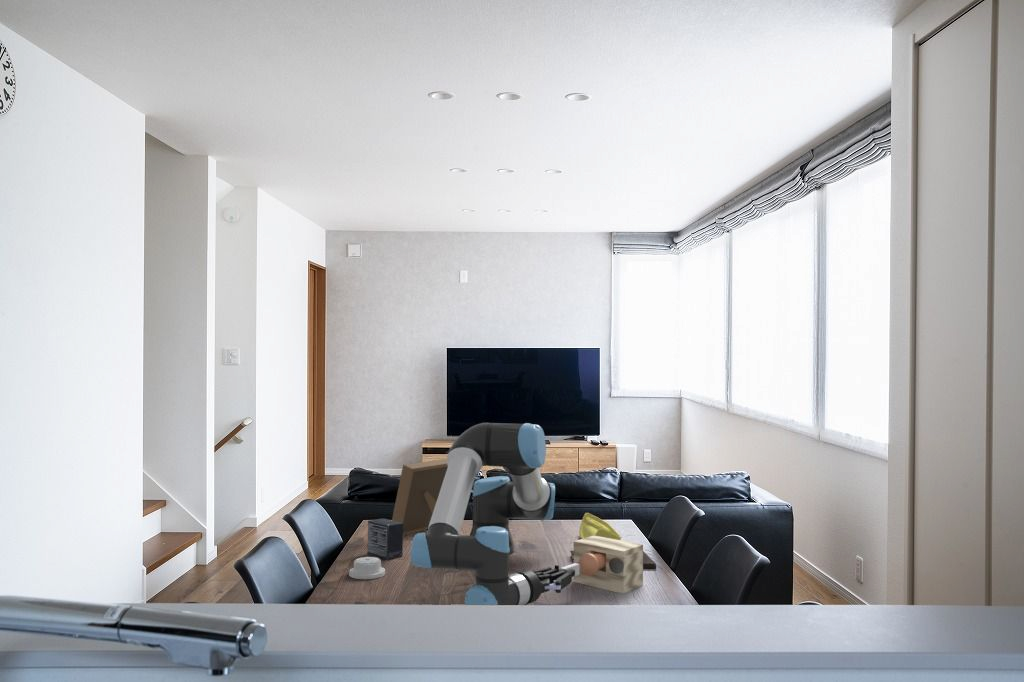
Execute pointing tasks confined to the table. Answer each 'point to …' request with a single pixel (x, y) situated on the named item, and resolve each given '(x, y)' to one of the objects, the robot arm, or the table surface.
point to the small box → (385, 538)
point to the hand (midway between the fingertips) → (577, 568)
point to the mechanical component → (367, 568)
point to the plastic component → (596, 528)
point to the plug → (592, 563)
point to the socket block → (612, 563)
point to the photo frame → (418, 494)
